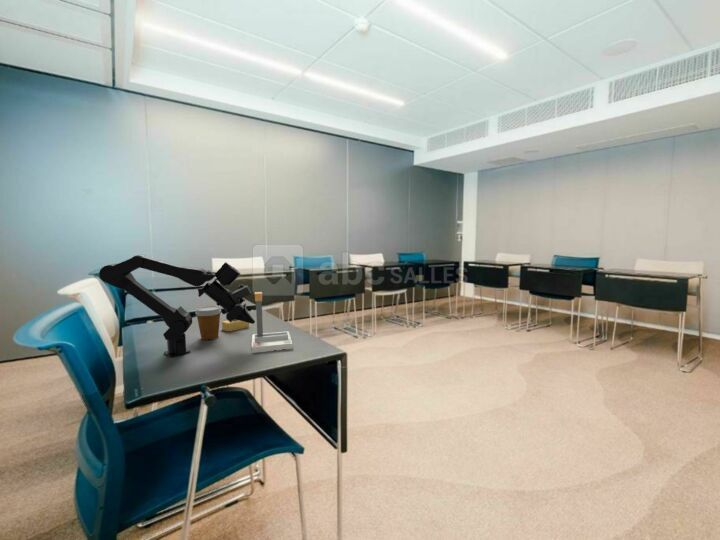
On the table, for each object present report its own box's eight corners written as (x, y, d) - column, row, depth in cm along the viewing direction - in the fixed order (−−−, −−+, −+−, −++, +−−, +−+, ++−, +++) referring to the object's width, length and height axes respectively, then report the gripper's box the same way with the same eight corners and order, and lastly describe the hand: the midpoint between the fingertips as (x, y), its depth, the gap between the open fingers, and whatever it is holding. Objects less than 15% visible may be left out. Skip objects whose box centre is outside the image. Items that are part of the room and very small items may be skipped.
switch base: (251, 352, 116) (251, 342, 115) (252, 339, 131) (252, 330, 131) (292, 348, 120) (292, 339, 120) (288, 336, 135) (288, 327, 135)
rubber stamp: (228, 332, 141) (227, 304, 140) (221, 329, 145) (220, 302, 144) (249, 327, 149) (248, 300, 148) (242, 324, 153) (241, 299, 151)
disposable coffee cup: (222, 339, 131) (220, 309, 130) (195, 342, 128) (193, 311, 126) (222, 333, 140) (221, 305, 139) (197, 335, 136) (196, 307, 135)
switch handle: (256, 340, 122) (254, 293, 120) (256, 338, 125) (254, 292, 123) (263, 340, 123) (262, 293, 121) (263, 337, 126) (262, 291, 124)
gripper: (235, 282, 111) (270, 312, 115) (238, 275, 128) (268, 301, 133) (210, 307, 109) (247, 336, 114) (217, 296, 127) (248, 322, 131)
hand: (254, 322), depth 123 cm, fingers closed
